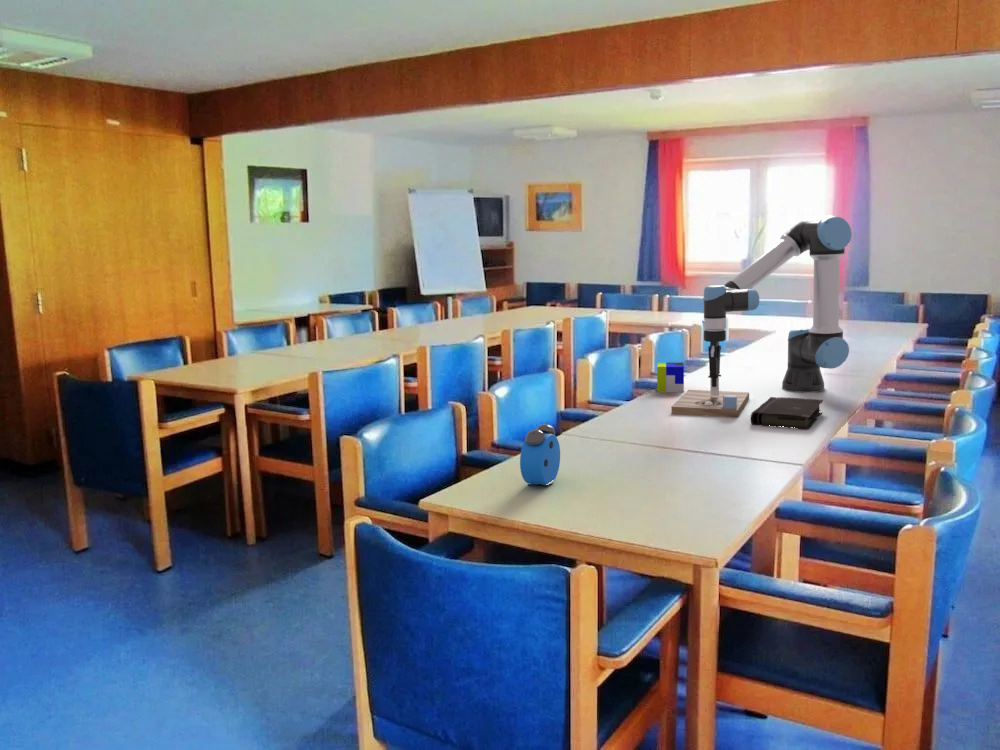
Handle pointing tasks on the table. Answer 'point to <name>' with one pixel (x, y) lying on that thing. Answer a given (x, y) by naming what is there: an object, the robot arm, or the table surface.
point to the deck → (695, 405)
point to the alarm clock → (540, 455)
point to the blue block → (729, 401)
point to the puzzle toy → (670, 377)
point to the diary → (787, 412)
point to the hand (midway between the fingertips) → (714, 395)
